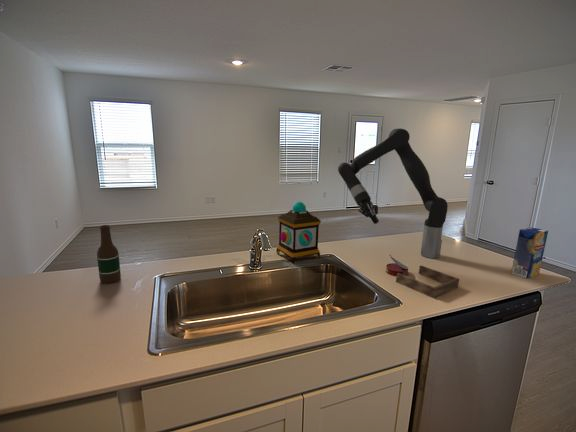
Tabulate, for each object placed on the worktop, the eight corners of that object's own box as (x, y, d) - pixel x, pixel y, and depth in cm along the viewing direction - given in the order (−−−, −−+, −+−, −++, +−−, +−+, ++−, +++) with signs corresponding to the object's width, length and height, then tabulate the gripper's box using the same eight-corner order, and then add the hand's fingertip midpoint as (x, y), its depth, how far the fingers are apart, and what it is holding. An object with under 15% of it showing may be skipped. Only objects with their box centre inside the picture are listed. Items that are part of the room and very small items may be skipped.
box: (395, 281, 134) (396, 273, 133) (420, 273, 144) (421, 265, 143) (434, 298, 119) (435, 289, 119) (457, 287, 130) (459, 278, 129)
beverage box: (538, 274, 146) (548, 230, 141) (527, 278, 141) (536, 233, 136) (522, 269, 152) (531, 227, 147) (511, 273, 147) (519, 229, 142)
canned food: (389, 277, 150) (394, 258, 152) (409, 281, 143) (414, 261, 145) (379, 272, 142) (384, 252, 144) (399, 277, 135) (404, 255, 137)
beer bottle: (125, 278, 131) (120, 224, 125) (109, 285, 123) (103, 229, 118) (111, 275, 133) (106, 222, 128) (95, 282, 126) (88, 226, 121)
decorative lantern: (303, 248, 176) (305, 197, 170) (323, 259, 160) (326, 203, 153) (272, 253, 166) (273, 199, 160) (291, 265, 150) (293, 206, 143)
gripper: (355, 191, 151) (372, 220, 143) (373, 189, 158) (390, 217, 151) (347, 200, 156) (363, 228, 149) (364, 198, 163) (380, 225, 156)
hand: (376, 222), depth 150 cm, fingers closed
